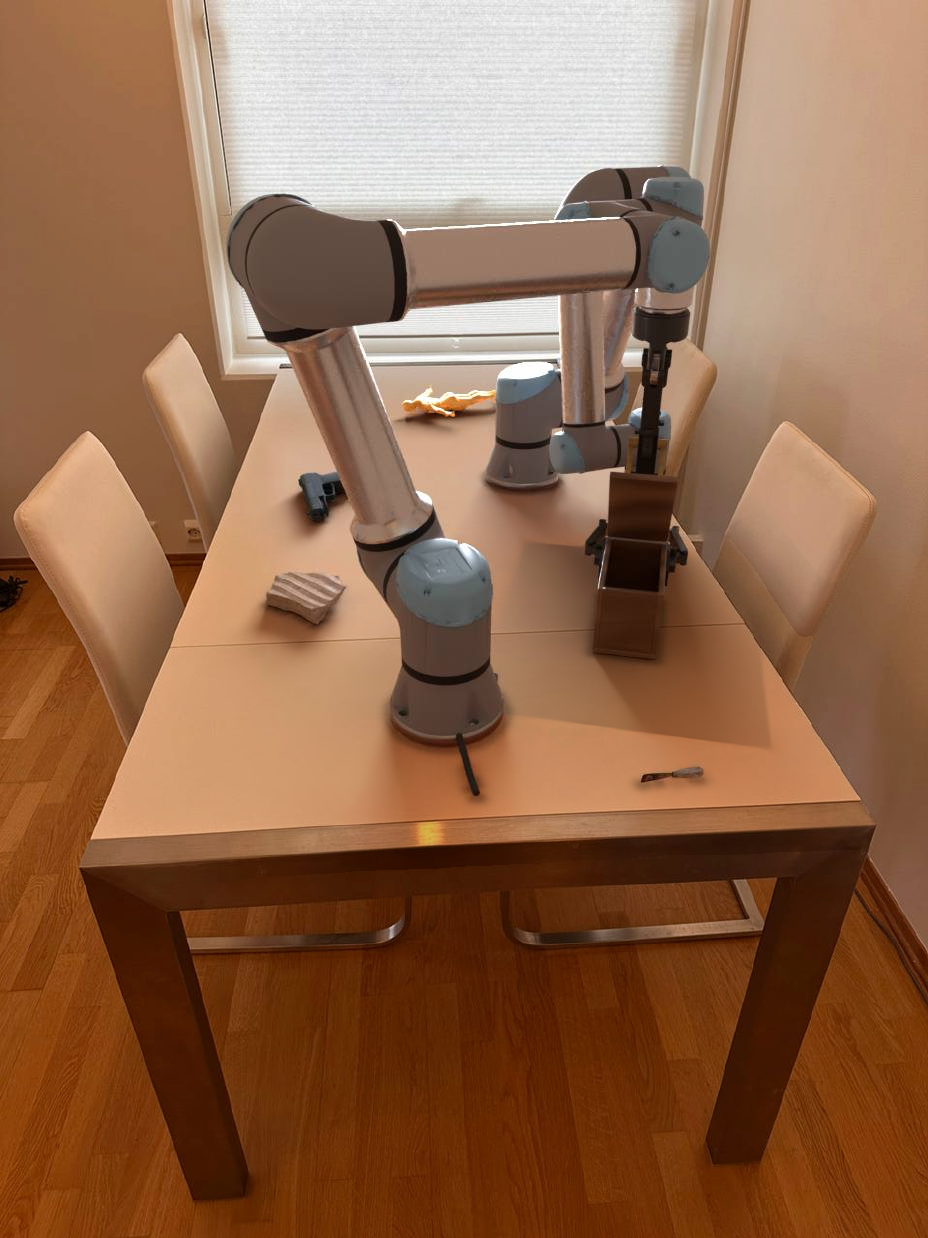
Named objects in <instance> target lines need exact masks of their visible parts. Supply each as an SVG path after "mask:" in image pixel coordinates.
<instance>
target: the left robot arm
mask: <svg viewBox="0 0 928 1238" xmlns="http://www.w3.org/2000/svg"><path fill="white" fill-rule="evenodd" d="M704 204H705V187H704V185H703V182H701V181H700V180H699V179H696V178H692V177H691V178H686V177H657V178H651V179H649V180H647V181H646V183H645V185H644V190H643V193H642V197H640V198H637V199H631V200H612V201H594V202H587V201H583V202H582V203H574V204H568V205H565V206H563V207H562V208H561V209H560V210H559V209H558V210H559V211H558V210H557V213H556V214H555V217H554V220H549V221H532V222H531V221H530V222H515V223H499V224H498V223H497V224H482V225H465V226H448V227H431V228H413V229H403V228H402V227H401V226H400V225H399V224H398V223H397V222H396V221H395V220H394V219H375V220H373V219H372V220H371V219H357V218H352V217H351V218H350V217H345V216H341V215H337V214H333V213H330V212H327V211H325V210H323V209H321V208H319V207H316V206H315V205H313V204H312V203H311V202H309V201H308V200H307V199H304V198H303V197H301V196H299V195H296V194H291V193H268V194H263V195H261V196H260V195H259V196H258V197H255V198H254V199H252V200H250V201H248V202H246V203H245V204H244V205H243V206H242V207H241V208H240V209H239V211H238V212H236V214H235V216H234V217H233V219H232V220H231V222H230V225H229V229H228V230H227V235H226V243H225V244H226V245H225V247H226V259H227V263H228V267H229V269H230V272H231V275H232V276H233V278H234V280H235V281H236V282H237V283H238V285H239V286H240V287H241V288H242V289H243V290H244V293H245V294H246V297H247V299H248V301H249V304H250V306H251V309H252V311H253V313H254V315H255V318H256V319H257V322H258V324H259V327H260V329H261V331H262V333H263V336H264V338H265V340H266V342H267V343H268V344H269V345H273V346H276V347H277V348H280V349H282V350H284V351H285V353H286V356H287V358H288V360H289V363H290V365H291V367H292V370H293V372H294V374H295V376H296V379H297V381H298V383H299V386H300V388H301V391H302V393H303V395H304V398H305V401H306V403H307V405H308V407H309V410H310V412H311V415H312V417H313V419H314V421H315V424H316V426H317V428H318V430H319V433H320V435H321V437H322V440H323V443H324V444H325V447H326V450H327V452H328V454H329V456H330V459H331V461H332V464H333V466H334V468H335V472H337V473H338V475H339V478H340V480H341V482H342V485H343V487H344V489H345V492H344V493H345V494H346V496H347V499H348V501H349V503H350V505H351V508H352V511H353V513H354V516H353V518H352V519H351V521H350V525H349V532H350V535H351V537H352V539H353V541H354V545H355V548H356V555H357V558H358V563H359V566H360V567H361V570H362V572H363V573H364V575H365V576H366V577H367V579H368V580H369V581H370V582H371V583H372V584H373V586H374V587H375V589H376V591H377V592H378V594H379V595H380V597H381V598H382V600H383V601H384V602H385V604H386V605H387V607H388V608H389V610H390V611H391V613H392V614H393V616H394V617H395V619H396V620H397V623H398V627H399V633H400V634H399V635H400V652H401V653H400V655H401V667H400V669H399V672H398V675H397V678H396V681H395V684H394V687H393V690H392V693H391V695H390V700H389V706H390V718H391V721H392V724H393V725H394V727H395V728H396V729H397V731H398V732H399V733H400V734H402V735H403V736H404V737H406V738H407V739H409V740H411V741H413V742H415V743H417V744H420V745H421V744H422V745H425V746H430V747H437V748H454V747H455V748H457V747H458V750H459V751H458V752H459V754H460V758H461V761H462V765H463V769H464V773H465V776H466V779H467V782H468V785H469V788H470V791H471V794H472V796H474V797H479V796H480V794H481V791H480V787H479V785H478V783H477V782H478V781H477V779H476V777H475V774H474V771H473V766H472V764H471V760H470V755H469V752H468V749H467V745H471V744H473V743H476V742H480V741H481V740H483V739H485V738H486V737H488V736H489V735H491V734H492V733H493V732H494V731H495V730H496V729H498V727H499V726H500V724H501V722H502V720H503V717H504V702H505V701H504V696H503V695H504V694H503V693H502V690H501V687H500V685H499V674H498V673H496V672H494V668H493V666H492V664H491V654H492V653H491V651H492V649H491V648H492V647H491V645H492V608H493V607H492V605H493V595H494V585H493V582H492V573H491V568H490V565H489V563H488V561H487V559H486V557H485V556H484V555H483V554H482V553H481V552H480V551H479V550H478V549H476V548H475V547H473V546H472V545H469V544H467V543H462V544H460V543H459V541H458V540H456V539H455V540H454V539H449V538H447V537H446V536H445V534H444V531H443V529H442V526H441V522H440V520H439V518H438V515H437V512H436V509H435V506H434V504H433V501H432V499H431V497H430V496H429V495H428V494H425V493H423V492H421V491H417V490H416V487H415V485H414V482H413V480H412V477H411V474H410V472H409V468H408V466H407V463H406V461H405V458H404V455H403V452H402V450H401V447H400V444H399V442H398V439H397V436H396V434H395V431H394V427H393V426H392V422H391V420H390V417H389V414H388V411H387V409H386V406H385V403H384V401H383V399H382V395H381V392H380V390H379V387H378V384H377V382H376V379H375V377H374V373H373V371H372V368H371V366H370V363H369V360H368V358H367V355H366V352H365V349H364V346H363V344H362V341H361V339H360V336H359V334H358V330H357V328H356V327H359V326H367V325H368V326H369V325H376V324H383V323H385V324H386V323H395V322H401V321H403V320H404V319H405V317H407V314H409V313H410V311H412V310H421V309H430V308H441V307H452V306H463V305H473V304H484V303H485V304H486V303H493V302H495V303H496V302H504V301H515V300H516V301H517V300H526V299H536V298H537V299H539V298H547V297H558V296H559V295H570V294H580V293H591V292H602V291H612V290H628V289H636V291H635V300H634V302H635V304H636V305H637V307H636V308H635V309H634V310H633V319H632V330H631V336H632V337H633V338H634V339H635V340H638V341H641V342H646V343H648V347H643V348H642V349H643V350H642V353H641V362H640V363H641V364H640V365H641V367H642V371H641V372H642V373H641V384H640V385H641V386H642V387H643V395H642V403H641V404H642V405H641V408H642V415H641V425H640V428H639V429H635V434H637V435H639V440H638V450H637V461H636V471H635V474H648V475H654V472H655V464H656V455H657V444H658V436H659V428H658V426H664V421H665V420H660V419H659V418H660V415H661V411H660V409H661V408H662V400H663V389H664V388H666V387H667V384H668V376H669V370H670V368H671V366H672V356H673V349H671V348H668V346H667V345H668V344H670V343H673V344H675V343H680V342H682V341H684V340H686V339H687V337H688V335H689V328H690V320H691V311H690V310H689V308H690V307H691V306H692V305H693V299H694V293H695V291H694V290H695V286H696V285H697V284H698V283H699V282H700V281H701V280H702V278H703V276H704V275H705V273H706V271H707V268H708V267H709V262H710V259H711V256H710V255H711V244H710V240H709V237H708V234H707V233H706V231H705V230H704V229H703V228H702V226H703V225H702V223H703V220H704ZM661 410H662V409H661Z"/></svg>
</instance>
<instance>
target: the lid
mask: <svg viewBox="0 0 928 1238" xmlns="http://www.w3.org/2000/svg"><path fill="white" fill-rule="evenodd" d="M638 440H639V437H629V440H628V448H629V450H628V458H627V466H626V473H624V472H623V471H610V472H609V482H608V507H607V523H608V529H607V536H612V537H623V538H633V539H644V540H655V541H665V542H667V541H668V535H669V529H670V528H671V524H672V519H673V513H674V512H673V511H674V506H675V501H676V496H677V489H678V484H679V476H672V475H671V476H670V475H666V476H663V469H664V460H665V451H666V450H667V442H668V440H667V439H658V444H657V450H660V459H659V468H658V475H648V474H635V473H631V467H632V458H633V450H634V448H637V449H638ZM607 536H606V537H607Z"/></svg>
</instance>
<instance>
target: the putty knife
mask: <svg viewBox="0 0 928 1238" xmlns="http://www.w3.org/2000/svg"><path fill="white" fill-rule="evenodd" d="M704 772H705V771H704V768H702V767H701V766H697V765H695V766H688V767H683V768H679V769H675V770H673V771H671V772H653V773H652V772H651V773H650V772H649V773H644V774H642V776H641V779H640V783H642V784H645V783H648V782H653V781H659V780H665V779H668V778H673V779H674V778H675V779H693V778H694V779H695V778H700V777H702V776H703V775H704Z"/></svg>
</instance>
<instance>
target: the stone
mask: <svg viewBox="0 0 928 1238" xmlns="http://www.w3.org/2000/svg"><path fill="white" fill-rule="evenodd" d="M346 589H347V585H346V583H345V582H343V580H341V579H340V575H332V574H329V573H326V572H320V571H318V572H315V571H314V572H308V573H306V572H300V571H289V572H287V573H281V572H279V573H277V574H275V576H274V579H273V581H272V584H271V587H270V590H268V591H267V592H266V594H265V597H266V600H265V604H266V605H267V606H268V605H269V606H271V607H275V608H278V609H281V610H282V611H289V612H292V613H296V614H297V615H299V616H301V617H302V618H304V619H305V620H307V621H309V622H311V623H312V624H315V625H319V624H320V622H321V621H323V620H324V619H325V618H326V615H327V612H328V611H329V609H330V607H332V606H333V605H334V603H335V602H336V601H338V600H339V599H340V598H341V596H342V595H343V593H344V591H345V590H346Z"/></svg>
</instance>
